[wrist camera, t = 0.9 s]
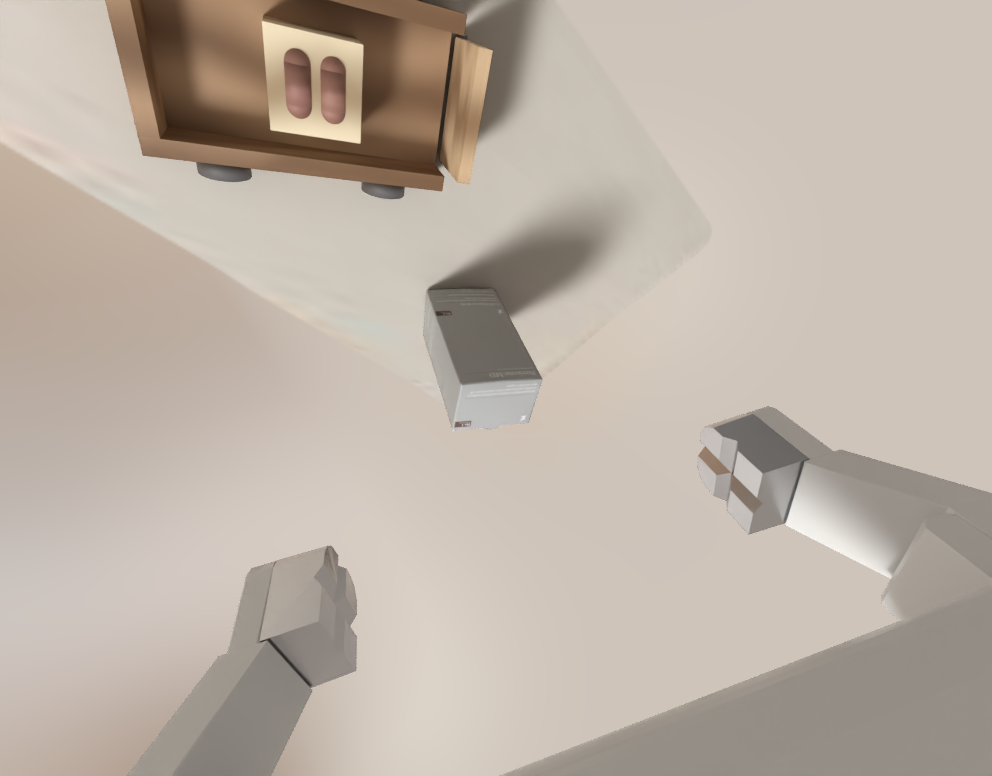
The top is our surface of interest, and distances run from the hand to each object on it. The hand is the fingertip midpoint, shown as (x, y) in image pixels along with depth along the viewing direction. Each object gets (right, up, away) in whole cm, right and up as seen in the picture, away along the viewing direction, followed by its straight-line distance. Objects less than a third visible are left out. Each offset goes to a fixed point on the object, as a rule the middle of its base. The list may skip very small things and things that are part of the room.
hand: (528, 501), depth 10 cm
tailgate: (-4, +26, +29) cm, 39 cm away
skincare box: (-5, +11, +44) cm, 45 cm away
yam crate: (-14, +25, +24) cm, 38 cm away
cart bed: (-15, +26, +24) cm, 39 cm away
